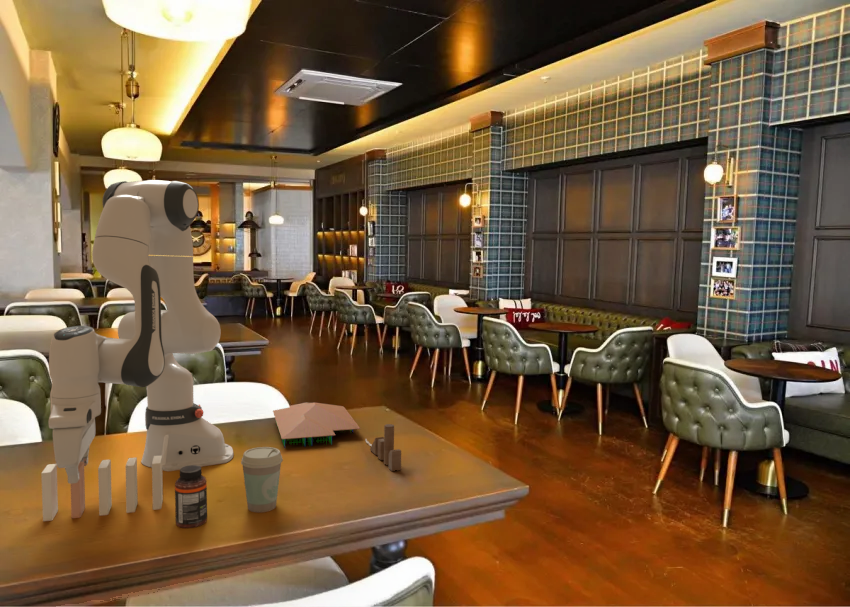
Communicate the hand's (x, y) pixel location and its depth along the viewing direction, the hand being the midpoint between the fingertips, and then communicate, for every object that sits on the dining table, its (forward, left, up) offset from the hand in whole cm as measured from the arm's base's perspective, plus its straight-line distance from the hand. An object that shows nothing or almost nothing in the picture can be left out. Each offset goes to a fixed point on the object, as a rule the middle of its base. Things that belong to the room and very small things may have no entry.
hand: (78, 473), depth 127 cm
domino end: (+5, 0, -8) cm, 10 cm away
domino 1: (0, 0, -8) cm, 8 cm away
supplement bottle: (-22, +11, -9) cm, 26 cm away
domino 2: (-5, 0, -8) cm, 10 cm away
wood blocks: (-69, -18, -9) cm, 71 cm away
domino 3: (-10, 0, -8) cm, 13 cm away
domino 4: (-15, 0, -8) cm, 17 cm away
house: (-56, -47, -9) cm, 73 cm away
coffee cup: (-36, +7, -9) cm, 38 cm away
